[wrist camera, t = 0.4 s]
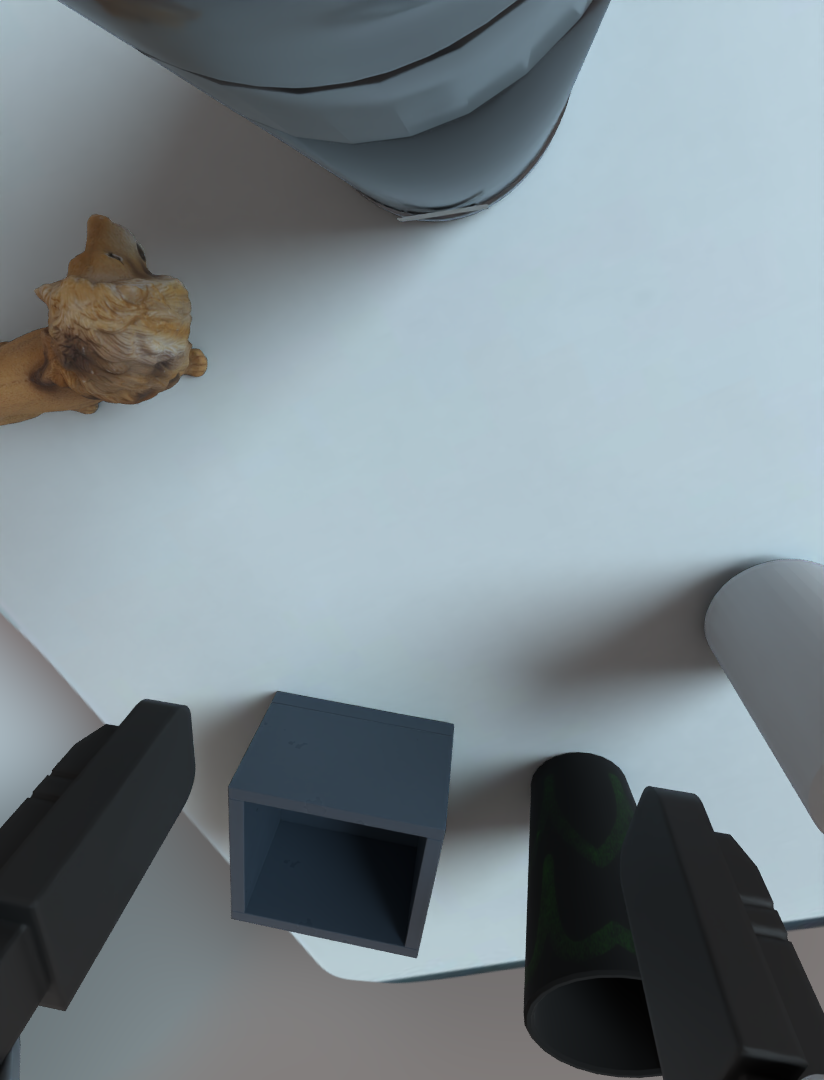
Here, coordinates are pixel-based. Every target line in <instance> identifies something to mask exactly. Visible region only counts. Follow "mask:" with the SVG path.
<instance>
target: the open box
mask: <svg viewBox="0 0 824 1080" xmlns="http://www.w3.org/2000/svg"><path fill="white" fill-rule="evenodd" d="M453 734H454V724H450V723H445V722H439V721H434V720H429V719H423V718H418V717H413V716H407V715H402V714H397V713H391V712H386V711H381V710H375V709H370V708H365V707H359V706H354V705H349V704H343V703H338V702H333V701H327V700H322V699H317V698H311V697H306V696H301V695H295V694H290V693H284V692H279V691H277V693H276V695H275V697H274V699H273V700H272V703H271V704H270V706H269V708H268V710H267V712H266V714H265V716H264V718H263V720H262V722H261V724H260V726H259V728H258V730H257V731H256V733H255V735H254V737H253V739H252V741H251V743H250V745H249V747H248V749H247V751H246V753H245V755H244V757H243V759H242V761H241V763H240V765H239V767H238V769H237V771H236V772H235V774H234V776H233V778H232V780H231V782H230V784H229V786H228V797H229V798H228V803H229V842H230V878H231V879H230V881H231V919H235V920H239V921H245V922H249V923H254V924H258V925H264V926H268V927H272V928H277V929H282V930H287V931H291V932H296V933H300V934H305V935H310V936H315V937H319V938H324V939H329V940H333V941H338V942H343V943H347V944H352V945H357V946H361V947H366V948H371V949H376V950H380V951H385V952H390V953H394V954H399V955H404V956H408V957H413V958H417V956H418V951H419V947H420V942H421V938H422V933H423V929H424V924H425V920H426V916H427V911H428V907H429V902H430V898H431V893H432V889H433V884H434V880H435V876H436V871H437V867H438V862H439V858H440V853H441V849H442V844H443V840H444V835H445V831H446V820H447V808H448V796H449V784H450V771H451V759H452V747H453Z"/></svg>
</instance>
